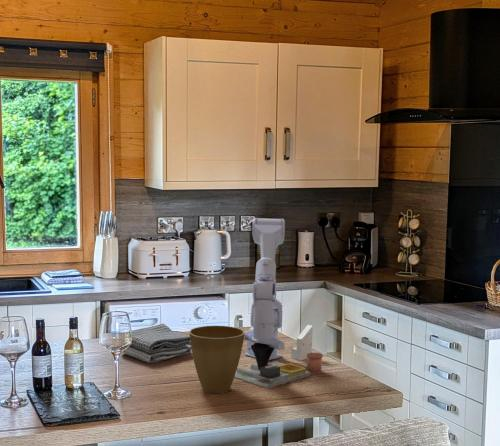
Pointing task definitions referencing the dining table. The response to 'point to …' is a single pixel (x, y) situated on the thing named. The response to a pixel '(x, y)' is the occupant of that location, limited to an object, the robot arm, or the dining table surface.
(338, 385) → the dining table surface
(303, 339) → the white angled block
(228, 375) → the plant pot
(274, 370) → the switch
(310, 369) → the cap
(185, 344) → the towel
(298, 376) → the panel
